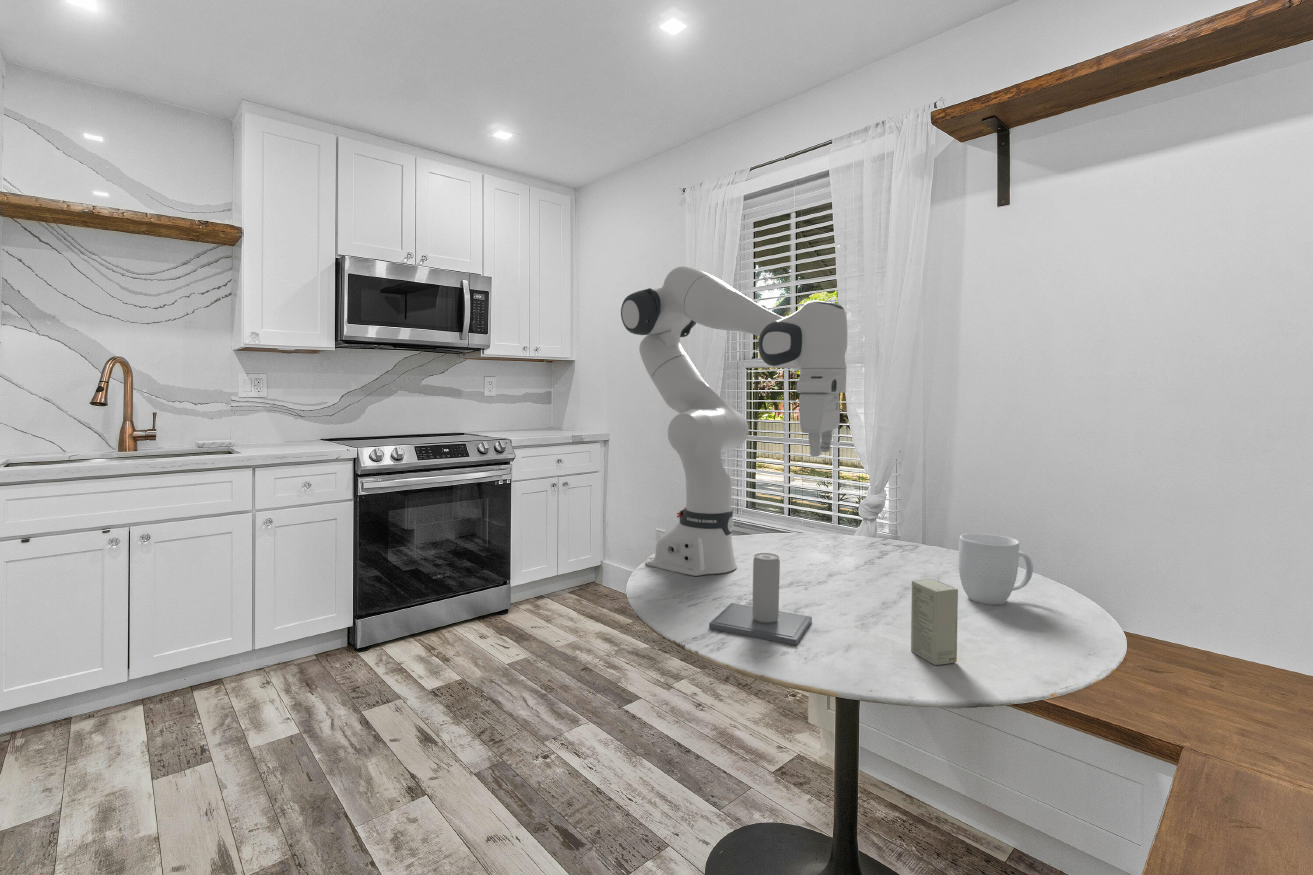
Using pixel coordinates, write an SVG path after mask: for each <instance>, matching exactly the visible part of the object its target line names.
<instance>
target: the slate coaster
mask: <svg viewBox="0 0 1313 875" xmlns="http://www.w3.org/2000/svg"><path fill="white" fill-rule="evenodd" d="M812 619H813V617H812V616H811V615H810V616H809V615H803V614H798V613H791V612H785V611H780V610H779V614H778V620H777V621H776V622H774V623H771V624H763V623H759V622H757V621H755V620H754V618H753V605H752V606H750V605H746V604H745V605H744V604H740V603H732V602H731V603H730V604H728V605H727V606H726V607H725V608H724V609H723V610H722V611H721V612H720V613H719V614H718V615H717V616H715V617H714V618H713V619H712V620H711V621H710V622H709V623H708V625H709V626H708V628H709V630H715V631H719V632H725V633H731V634H735V635H736V634H737V635H741V636H746V637H750V638H751V637H752V638H757V639H761V640H766V641H767V640H768V641H770V642H771V641H772V642H778V643H782V644H788V645H792V646H797V645H798V644H799V642H800V641H801V639H802V637H803V636H804V634H805V632H806V631H807V630H808V628H809V627H810V625H811V623H812V621H813V620H812Z"/></svg>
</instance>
